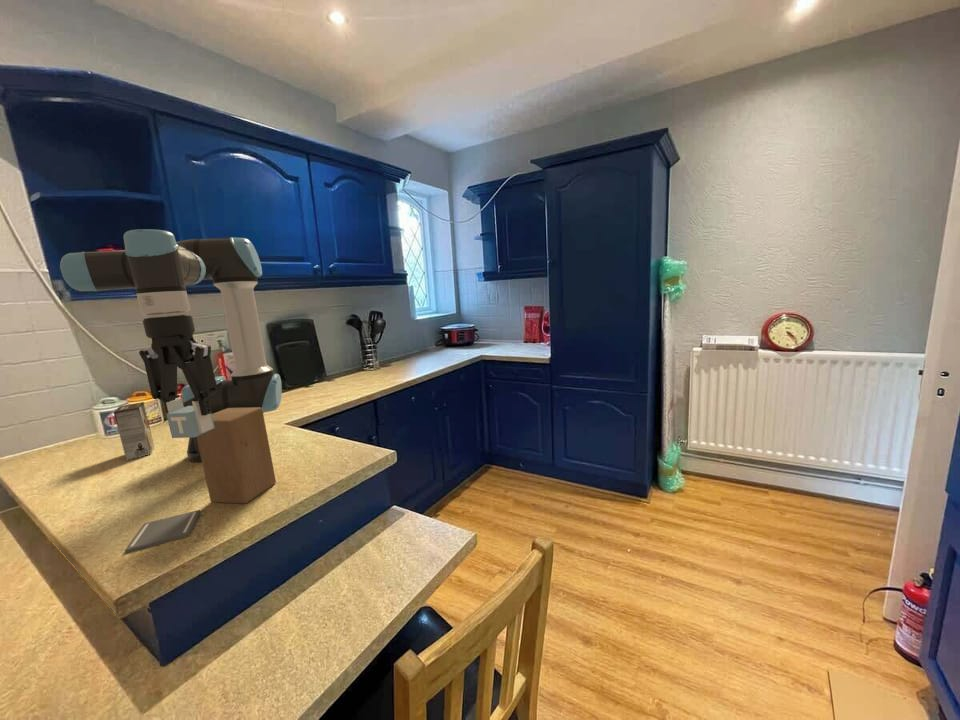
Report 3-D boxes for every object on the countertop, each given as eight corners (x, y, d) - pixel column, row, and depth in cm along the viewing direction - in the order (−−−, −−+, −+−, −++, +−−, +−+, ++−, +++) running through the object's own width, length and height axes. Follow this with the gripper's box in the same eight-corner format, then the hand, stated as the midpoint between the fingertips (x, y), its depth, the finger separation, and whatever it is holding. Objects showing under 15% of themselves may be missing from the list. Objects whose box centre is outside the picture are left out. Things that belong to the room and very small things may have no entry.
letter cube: (193, 428, 82) (188, 405, 81) (214, 428, 81) (209, 404, 80) (171, 438, 77) (165, 413, 76) (193, 437, 76) (188, 412, 75)
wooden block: (246, 504, 89) (229, 420, 86) (209, 503, 91) (191, 421, 88) (277, 482, 99) (262, 406, 95) (243, 482, 101) (228, 407, 97)
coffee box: (130, 452, 130) (118, 406, 127) (155, 446, 134) (144, 401, 131) (125, 461, 123) (112, 411, 120) (151, 454, 126) (140, 407, 123)
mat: (144, 525, 83) (144, 523, 83) (200, 512, 87) (200, 509, 87) (125, 552, 74) (124, 549, 74) (188, 536, 78) (187, 533, 78)
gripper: (106, 320, 72) (136, 439, 77) (192, 313, 70) (219, 436, 74) (145, 316, 80) (170, 425, 84) (224, 310, 77) (247, 423, 81)
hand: (193, 430), depth 79 cm, fingers closed on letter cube, 5 cm apart
